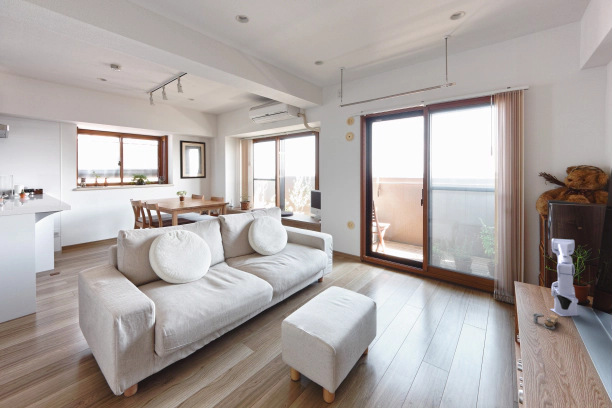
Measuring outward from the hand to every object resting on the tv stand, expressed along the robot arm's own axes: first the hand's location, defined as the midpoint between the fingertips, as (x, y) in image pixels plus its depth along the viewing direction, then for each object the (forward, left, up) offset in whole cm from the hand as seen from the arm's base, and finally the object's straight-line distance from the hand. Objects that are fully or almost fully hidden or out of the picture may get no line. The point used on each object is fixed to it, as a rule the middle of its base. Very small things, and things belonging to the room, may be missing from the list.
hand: (564, 309), depth 145 cm
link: (+6, -2, -8) cm, 10 cm away
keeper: (+10, -5, -9) cm, 15 cm away
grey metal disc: (+9, +1, -10) cm, 13 cm away
